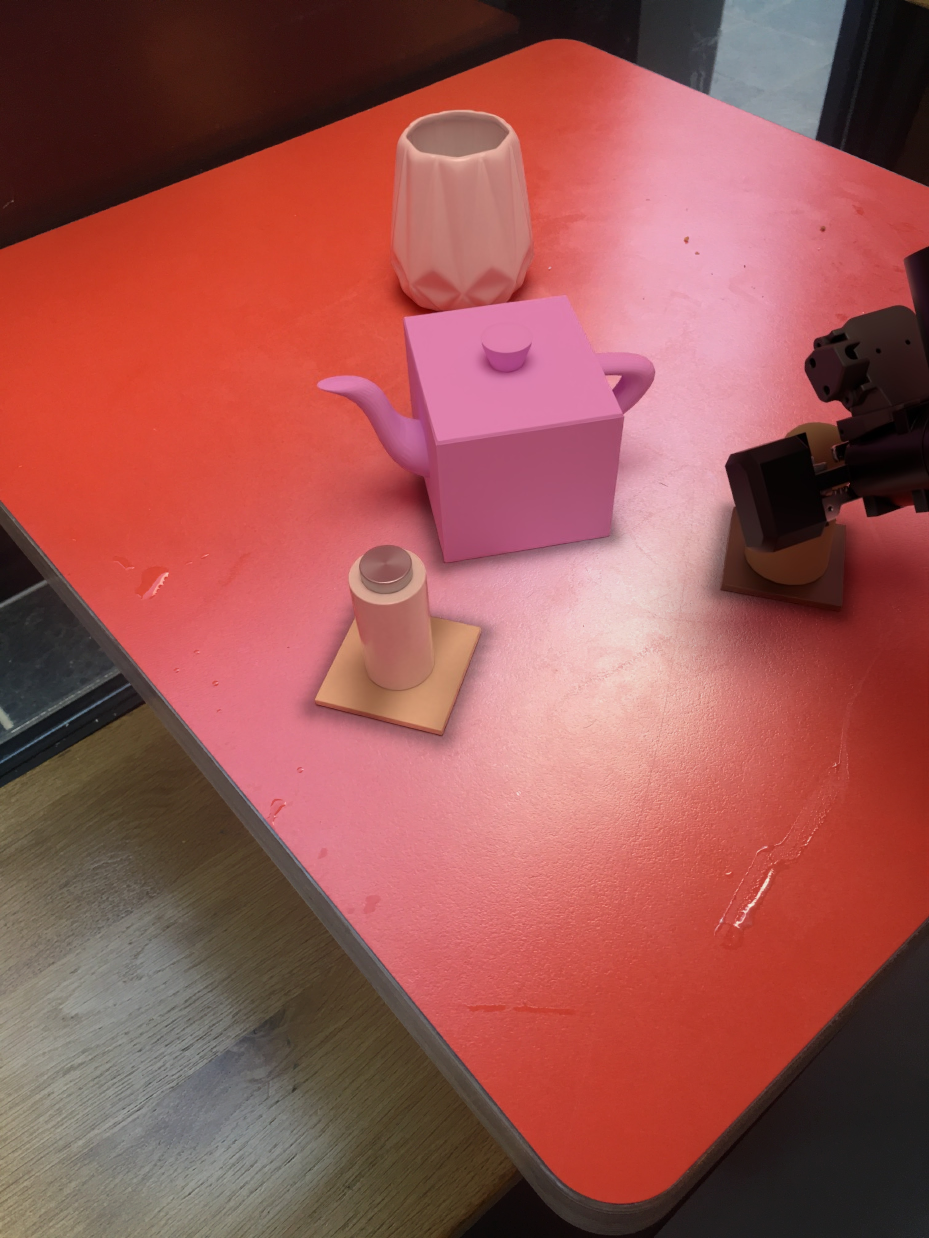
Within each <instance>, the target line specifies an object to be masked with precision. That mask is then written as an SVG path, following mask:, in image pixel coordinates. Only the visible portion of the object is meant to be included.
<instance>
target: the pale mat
mask: <svg viewBox="0 0 929 1238" xmlns="http://www.w3.org/2000/svg"><path fill="white" fill-rule="evenodd" d="M430 616H431V615H430ZM431 626H432V637H433V647H434V657H435V663H434V667H433V670H432V672H431V674H430V675H429V677H428V678H427V679H426V680H425V681H423V682H422V683H421V684H419V685H417V686H415V687H413V688H410V689H406V690H389V689H386V688H383V687H380V686H379V685H377V684H376V683H374V682H373V681H372V680H371V679H370V677H369V676H368V674H367V672H366V669H365V664H364V659H363V653H362V648H361V643H360V638H359V633H358V628H357V623H356V618H355V617H354V619H353V621H352V623H351V625H350V626H349V629H348V631H347V633H346V635H345V637H344V639H343V641H342V643H341V644H340V646H339V649H338V651H337V653H336V655H335V657H334V659H333V662H332V663H331V664H330V665H331V666H330V667H329V669H328V671H327V674H326V676H325V677H324V679H323V682H322V684H321V686H320V687H319V690H318V692H317V694H316V696H315V697H314V702H315V705H318V706H322V707H326V708H331V709H334V710H338V711H341V712H346V713H350V714H354V715H358V716H362V717H366V718H370V719H375V720H378V721H382V722H387V723H390V724H393V725H394V724H395V725H399V726H403V727H405V728H411V729H415V730H418V731H423V732H427V733H431V734H435V735H439V736H442V735H443V734H444V731H445V729H446V726H447V724H448V721H449V718H450V716H451V713H452V711H453V707H454V705H455V703H456V700H457V698H458V694H459V692H460V690H461V687H462V684H463V682H464V679H465V676H466V673H467V671H468V669H469V666H470V664H471V660H472V658H473V655H474V652H475V649H476V648H477V644H478V642H479V639H480V637H481V634H482V626H478V625H472V624H468V623H463V622H458V621H455V620H450V619H445V618H440V617H436V616H431Z"/></svg>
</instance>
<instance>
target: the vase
mask: <svg viewBox="0 0 929 1238" xmlns="http://www.w3.org/2000/svg"><path fill="white" fill-rule="evenodd" d="M521 147H522V146H521V142H520V138H519V136H518V133H516V131H515V129H514V128H513V127H512V125H511V124H510V123H508V122H507V121H506V120H505V119H504V118H502V117H500V116H498V115H496V114H493V113H489V112H486V111H475V110H473V109H452V110H451V109H450V110H443V111H440V112H437V113H436V112H435V113H430V114H425V115H423V116H420V117H418V118H416V119H414V120H413V121H411V122H410V124H408V126H407V127H406V128H405V129H404V130H403V131H402V133H401V135H400V136H399V139H398V141H397V143H396V151H395V162H394V174H393V175H394V177H393V188H392V189H393V190H392V205H391V223H390V263H391V267H392V268H393V270H394V272H395V275H396V276H397V278H398V281H399V284H400V288H401V290H402V291H403V293H404V294H405V295H406V296H407V297H408V298H410V300H412V301H413V302H414V303H415V304H416V305H417V306H419V307H421V308H423V309H428V310H432V311H436V312H438V313H439V312H445V311H452V310H459V309H466V308H473V307H480V306H487V305H494V304H501V303H508V302H509V301H510V299H511V298H512V295H513V294H514V293H515V292H516V291H518V289H520V288H521V287H522V286H523V284H524V281H525V278H526V274H527V272H528V271H529V269H530V267H531V265H532V263H533V261H534V258H535V247H534V243H535V242H534V233H533V225H532V215H531V208H530V201H529V193H528V187H527V180H526V174H525V173H526V172H525V166H524V160H523V159H524V158H523V153H522V148H521Z"/></svg>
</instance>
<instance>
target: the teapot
mask: <svg viewBox="0 0 929 1238" xmlns="http://www.w3.org/2000/svg"><path fill="white" fill-rule="evenodd" d="M402 324H403V337H404V344H405V355H406V366H407V376H408V386H409V387H408V388H409V396H410V405H411V417H408V416H404V415H402V414H400V413H399V412H398V411H397V410H396V409H395V408H394V407H393V406H392V403H391V402H390V400H389V397H387V395H386V394H385V393H384V391H383V390H382V389H381V387H380V386H378V384H376V383H375V382H373V381H371V380H370V379H367V378H365V377H362V376H358V375H335V376H331V377H326V378H324V379H321V380H320V381H318V382H317V383H316V386H317V388H318V389H319V390H321V391H323V392H326V393H330V394H334V395H337V396H340V397H344V398H346V399H348V400H349V401H350V402H352V403H354V404H355V405H356V406H358V408H359V409H360V410H361V411H362V412H363V413H364V415H365V417H366V418H367V419H368V421H369V423H370V424H371V425H370V426H372V428H373V430H374V432H375V435H376V436H377V438H378V440H379V442H380V444H381V445H382V447H383V449H384V450H385V452H386V453H387V455H388V456H389V457H390V458H391V460H392V461H393V462H395V464H397V465H398V466H399V467H401V468H402V469H404V470H406V471H408V472H410V473H411V474H414V475H417V476H420V477H423V479H424V482H425V487H426V491H427V494H428V499H429V504H430V507H431V511H432V517H433V519H434V524H435V528H436V532H437V536H438V539H439V543H440V548H441V552H442V556H443V560H444V563H445V564H448V563H454V562H460V561H465V560H472V559H478V558H484V557H490V556H495V555H502V554H503V555H504V554H508V553H515V552H520V551H527V550H533V549H540V548H545V547H551V546H556V545H564V544H569V543H575V542H581V541H588V540H593V539H600V538H606V537H610V536H611V528H612V521H613V512H614V504H615V495H616V487H617V479H618V472H619V463H620V456H621V447H622V438H623V431H624V424H625V414H626V413H627V412H629V411H630V410H631V409H632V408H634V406H635V405H636V404H637V403H638V402H640V400H641V399H642V398H643V397H644V396H645V394H647V392H648V391H649V389H650V388H651V386H652V384H653V383H654V381H655V377H656V368H655V365H654V363H653V362H652V361H651V360H650V359H649V358H648V357H646V356H644V355H642V354H640V353H639V354H638V353H633V352H624V351H621V352H620V351H618V352H617V351H614V352H613V351H612V352H609V351H608V352H607V351H606V352H596V353H595V351H594V348H593V347H592V344H591V343H590V341H589V338H588V336H587V334H586V332H585V330H584V328H583V326H582V324H581V322H580V320H579V318H578V316H577V314H576V312H575V310H574V308H573V306H572V304H571V302H570V300H569V298H568V296H567V294H562V295H554V296H548V297H542V298H533V299H532V298H531V299H526V300H519V301H508V302H506V303H501V304H494V305H487V306H480V307H473V308H466V309H459V310H452V311H445V312H439V311H438V312H432V313H425V314H418V315H411V316H404V317H403V318H402ZM607 376H619V377H620V379H619V380H618V382H617V383H616V384H615V386H614V387H613V388H612V386H611V385H610V383H609V381H608V378H607Z"/></svg>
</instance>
